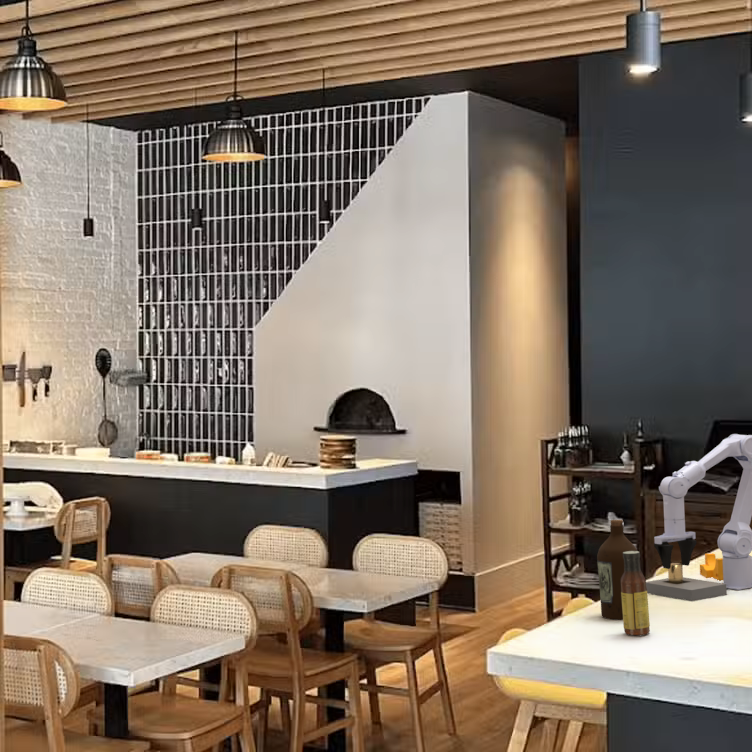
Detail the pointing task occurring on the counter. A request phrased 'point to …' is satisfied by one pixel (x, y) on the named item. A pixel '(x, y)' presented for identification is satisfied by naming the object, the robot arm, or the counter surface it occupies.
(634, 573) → the sauce bottle
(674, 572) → the pin
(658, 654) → the counter surface
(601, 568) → the olive oil
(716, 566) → the pipe clamp
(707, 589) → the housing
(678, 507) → the robot arm
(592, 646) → the counter surface
